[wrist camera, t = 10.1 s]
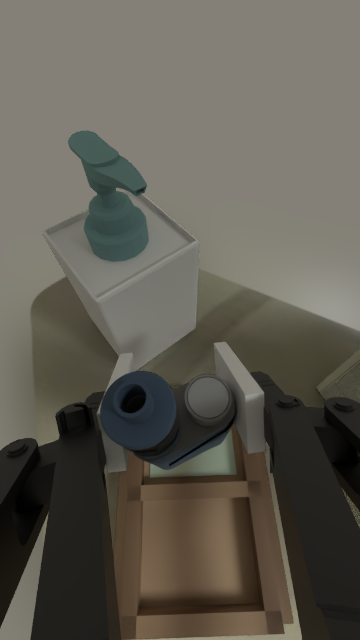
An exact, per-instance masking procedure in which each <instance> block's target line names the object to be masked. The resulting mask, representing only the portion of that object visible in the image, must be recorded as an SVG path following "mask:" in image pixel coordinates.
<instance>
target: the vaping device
mask: <svg viewBox="0 0 360 640" xmlns="http://www.w3.org/2000/svg"><path fill="white" fill-rule="evenodd" d="M234 413H235V419H234V421H233V419H232V418H233V416H234ZM236 416H237V409H236V404H235V400H234V396H233V393H232V392H231V390H230V388H229V386H228V385H227V383H226V382H225V381H224V380H223V379H221V378H220V377H218V376H215V375H212V374H203V375H199V376H197V377H195V378H194V379H192V380H191V381H190V382H189V383H187V384H185V385H183V386H181V387H179V388H177V389H174V390H172V389H171V388H170V386H169V384H168V383H167V382H166V381H165V380H164V379H163V378H162V377H160V376H158V375H157V374H154V373H152V372H147V371H135V372H130V373H127V374H125V375H123V376H121V377H120V378H118V379H117V380H116V381H114V382H113V383H112V384H111V385H110V387H109V388H108V390H107V391H106V393H105V395H104V397H103V400H102V403H101V408H100V418H101V423H102V426H103V428H104V431H105V432H106V434H107V435H108V436H109V437H110V438H111V439H112V440H113V441H114V442H116V443H117V444H119V445H120V446H122V447H124V448H126V449H128V450H130V451H132V452H133V454H134V455H135V456H137V457H138V458H139V459H141V460H143V461H146V462H149V463H151V464H153V465H155V466H157V467H159V468H161V469H163V470H170V469H173V468H175V467H177V466H178V465H180V464H182V463H184V462H186V461H188V460H190V459H192V458H194V457H196V456H197V455H199V454H201V453H203V452H205V451H207V450H209V449H211V448H214V447H216V446H218V445H220V444H221V443H222V442H223V441H224V439H225V437H226V436H227V434H228V432H229V431H230V429H231V427H232V426H233V424H234V422H235V420H236Z"/></svg>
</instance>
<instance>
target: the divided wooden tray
mask: <svg viewBox="0 0 360 640" xmlns="http://www.w3.org/2000/svg"><path fill="white" fill-rule="evenodd" d="M114 570H115V580H116V590H117V601H118V611H119V621H120V631H121V640H132V639H159V638H186V637H213V636H240V635H267V634H285V633H284V627H283V624H291V623H293V617H292V611H291V605H290V600H289V594H288V588H287V582H286V577H285V571H284V565H283V559H282V554H281V548H280V542H279V536H278V531H277V525H276V519H275V513H274V508H273V502H272V496H271V490H270V485H269V479H268V473H267V467H266V462H265V456H264V452H258V453H250V454H248V453H247V450H246V448H245V446H244V444H243V441H242V439H241V437H240V435H239V432H238V430H237V428H236V426H235V423H234V424H233V426H232V427H231V429H230V431H229V432H228V434H227V436H226V437H225V439H224V441H223V442H222V443H221V444H220V445H218V446H216V447H214V448H211V449H209V450H207V451H205V452H203V453H201V454H199V455H197V456H196V457H194V458H192V459H190V460H188V461H186V462H184V463H182V464H180V465H178V466H177V467H175V468H173V469H170V470H163V469H161V468H159V467H157V466H155V465H153V464H151V463H149V462H146V461H143V460H141V459H139V458H138V457H137V456H135V455H134V454H133V452H132V451H130V452H129V458H128V465H127V471H120V475H119V489H118V503H117V518H116V532H115V546H114Z"/></svg>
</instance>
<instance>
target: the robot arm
mask: <svg viewBox="0 0 360 640" xmlns="http://www.w3.org/2000/svg"><path fill="white" fill-rule="evenodd" d="M214 356H215V370H216V376H218V377H220V378H221V379H223V380H224V381H225V382H226V383H227V385H228V386H229V388H230V390H231V392H232V393H233V396H234V400H235V404H236V409H237V416H236V420H235V422H234V423H235V426H236V428H237V430H238V432H239V435H240V437H241V439H242V441H243V444H244V446H245V448H246V450H247V453H248V454H250V453H258V452H265V451H266V442H265V440H266V441H267V443H268V445H269V447H270V473H273V477H274V482H275V488H276V494H277V499H278V505H279V510H280V516H281V522H282V527H283V533H284V538H285V544H286V550H287V555H288V561H289V567H290V572H291V578H292V583H293V589H294V595H295V600H296V606H297V611H298V617H299V623H300V628H301V634H302V640H360V528H359V526H358V524H357V522H356V520H355V517H354V515H353V513H352V511H351V508H350V506H349V504H348V502H347V500H346V497H345V495H344V493H343V491H342V489H341V487H342V488H343V490H344V491H345V492H346V494H347V495H348V496H349V498H350V499H351V500H352V502H353V503H354V504H355V506H356V507H357V508H358V509H359V511H360V403H358V402H356V401H354V400H351V399H349V398H345V397H344V398H343V397H332V398H328V399H327V400H326V401H325V406H324V408H312V407H305V406H304V404H303V403H302V401H301V400H300V399H298V398H296V397H293V396H290V395H285V394H284V393H283V392H282V391H281V389H280V388H279V387H278V386H277V385H276V384H275V383H274V382H273V381H272V379H271V378H270V377H269V376H268V375H266V374H264V373H262V372H252V373H249V372H248V371H247V369H246V368H245V367H244V365H243V364H242V363H241V361H240V360H239V359H238V357H237V356H236V355H235V354H234V352H233V351H232V350H231V348H230V347H229V346H228V344H227V343H226V342H218V343H214ZM130 372H135V366H134V359H133V353H125V354H120V356H119V358H118V361H117V363H116V366H115V369H114V371H113V374H112V376H111V379H110V381H109V384H108V386H107V389H106V391H107V390H108V388H109V387H110V385H111V384H112V383H113V382H114V381H116V380H117V379H118V378H120V377H121V376H123V375H125V374H127V373H130ZM106 391H104V392H96V393H93V394H92V395H90V396H89V397H88V398H87V399H86V401H85V403H82V402H80V403H74V404H71V405H68V406H66V407H64V408H62V409H61V410H60V411H58V412H57V414H56V416H55V417H56V421H57V426H58V430H59V434H60V437H59V439H58V440H56V441H54V442H51V443H48V444H45V445H42V446H39V447H38V444H37V441H36V440H35V439H32V438H25V439H19V440H16V441H14V442H12V443H10V444H9V445H7V446H5V447H4V448H3V449H2V450H1V451H0V627H1V625H2V622H3V620H4V618H5V615H6V613H7V610H8V608H9V606H10V603H11V600H12V598H13V596H14V594H15V591H16V589H17V586H18V584H19V581H20V579H21V576H22V574H23V572H24V569H25V567H26V565H27V562H28V559H29V557H30V555H31V552H32V550H33V548H34V545H35V543H36V540H37V538H38V536H39V533H40V531H41V528H42V526H43V524H44V521H45V519H46V516H47V514H48V511H49V514H48V521H47V528H46V535H45V542H44V549H43V556H42V563H41V570H40V577H39V584H38V591H37V598H36V605H35V612H34V619H33V626H32V633H31V640H121V631H120V621H119V611H118V601H117V590H116V580H115V570H114V560H113V550H112V539H111V529H110V519H109V509H108V499H107V488H106V479H105V474H104V468H105V464H106V465H107V470H108V473H112V472H120V471H127V465H128V458H129V452H130V450H128V449H126V448H124V447H122V446H120V445H119V444H117V443H116V442H114V441H113V440H112V439H111V438H110V437H109V436H108V435H107V434H106V432H105V431H104V428H103V426H102V423H101V418H100V408H101V403H102V400H103V397H104V395H105V393H106ZM232 419H233V421H234V419H235V413H234V416H233V418H232Z"/></svg>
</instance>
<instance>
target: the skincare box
mask: <svg viewBox="0 0 360 640" xmlns="http://www.w3.org/2000/svg"><path fill="white" fill-rule="evenodd" d="M317 390H318V391H319V392H320V394H321V395H322V396H323V397H324V399H325V400H327V399H328V398H332V397H343V398H344V397H345V398H349V399H351V400H354V401H356V402H358V403H360V348H359V349H358V350H357V351H356V352H355V353H354V354H352V355H351V356H350V357H349V358H348V359H347V360H346V361H344V362H343V363H342V364H341V365H340V366H339V367H338V368H337V369H335V370H334V371H333V372H332V373H331V374H330V375H328V376H327V377H326V378H325V379H324V380H323V381H322V382H321V383H320V384H318V385H317Z"/></svg>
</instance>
